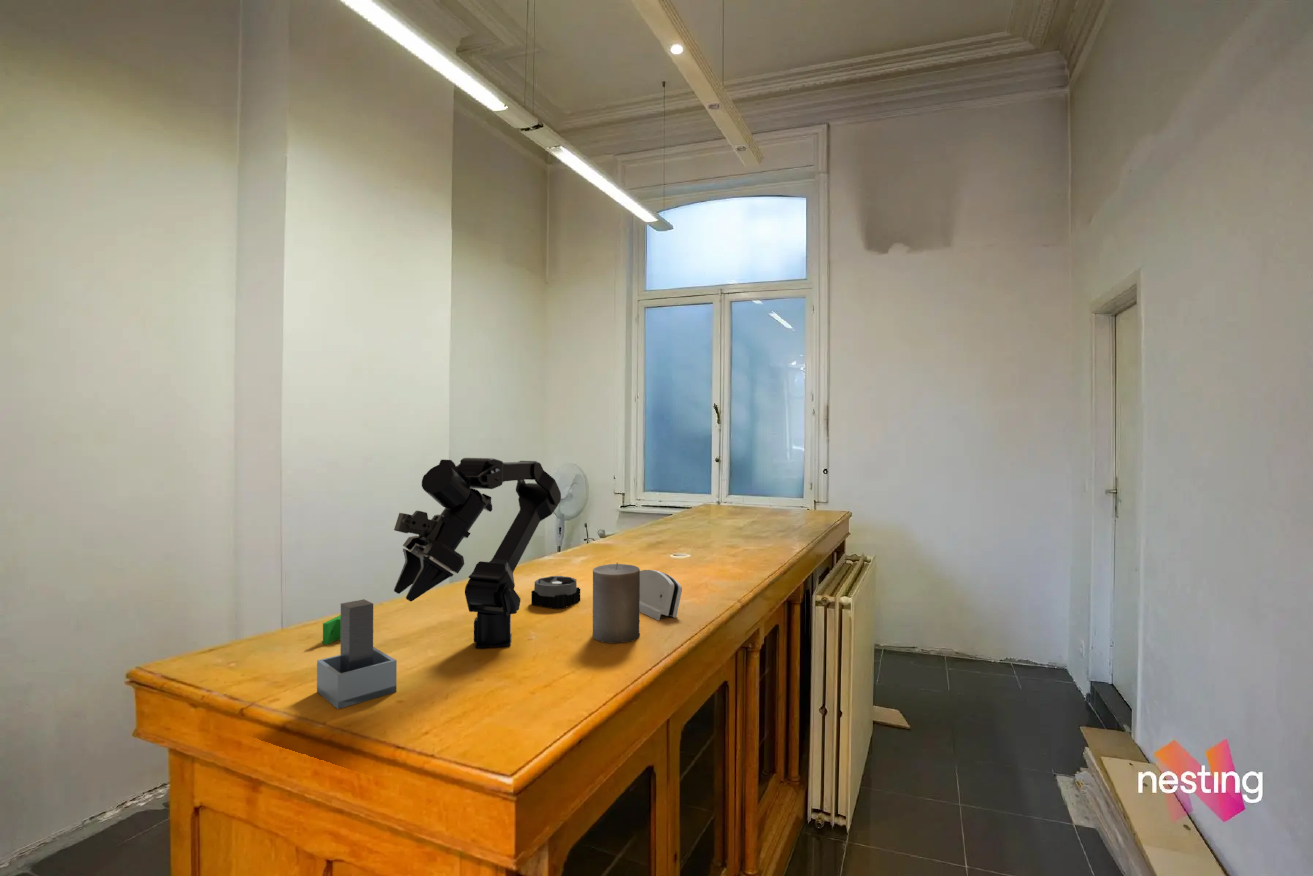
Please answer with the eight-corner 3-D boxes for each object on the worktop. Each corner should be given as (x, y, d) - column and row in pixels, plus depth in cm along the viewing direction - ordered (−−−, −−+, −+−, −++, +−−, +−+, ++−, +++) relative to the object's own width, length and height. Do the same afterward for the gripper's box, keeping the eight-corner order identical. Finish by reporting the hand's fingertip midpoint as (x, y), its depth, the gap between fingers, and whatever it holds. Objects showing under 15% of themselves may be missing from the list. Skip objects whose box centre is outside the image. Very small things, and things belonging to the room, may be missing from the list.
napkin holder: (620, 603, 152) (633, 562, 154) (636, 606, 155) (648, 567, 156) (658, 620, 138) (671, 576, 140) (674, 624, 141) (687, 581, 142)
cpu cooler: (561, 587, 145) (525, 582, 150) (560, 611, 145) (525, 606, 150) (585, 577, 154) (551, 573, 159) (585, 601, 154) (551, 596, 159)
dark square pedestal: (366, 676, 103) (366, 597, 103) (379, 685, 100) (379, 603, 99) (334, 685, 99) (334, 603, 99) (346, 694, 96) (346, 610, 96)
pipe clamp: (339, 646, 121) (339, 624, 121) (322, 645, 121) (322, 623, 121) (370, 628, 131) (370, 608, 131) (354, 628, 132) (354, 607, 132)
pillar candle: (649, 634, 129) (649, 561, 129) (618, 647, 121) (619, 569, 121) (612, 625, 135) (613, 555, 134) (581, 637, 127) (582, 563, 127)
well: (373, 676, 106) (373, 646, 106) (396, 691, 100) (396, 660, 100) (316, 691, 99) (317, 660, 99) (337, 709, 93) (337, 675, 93)
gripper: (407, 493, 117) (351, 565, 111) (433, 493, 102) (370, 577, 96) (455, 526, 122) (404, 597, 116) (488, 531, 106) (431, 614, 100)
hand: (401, 596), depth 107 cm, fingers open, 9 cm apart
